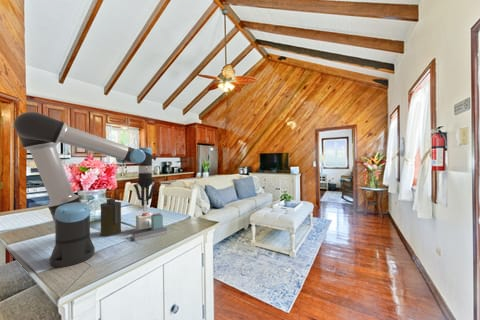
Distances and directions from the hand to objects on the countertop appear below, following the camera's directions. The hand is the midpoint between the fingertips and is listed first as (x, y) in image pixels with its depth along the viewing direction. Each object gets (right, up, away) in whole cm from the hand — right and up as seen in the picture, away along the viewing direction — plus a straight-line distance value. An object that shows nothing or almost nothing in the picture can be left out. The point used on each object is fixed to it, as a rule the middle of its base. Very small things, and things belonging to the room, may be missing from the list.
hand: (144, 210), depth 121 cm
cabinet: (0, -12, 0) cm, 12 cm away
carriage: (+10, -10, -6) cm, 15 cm away
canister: (-17, -12, -5) cm, 22 cm away
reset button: (0, -6, 0) cm, 6 cm away
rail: (+7, -12, -8) cm, 16 cm away
